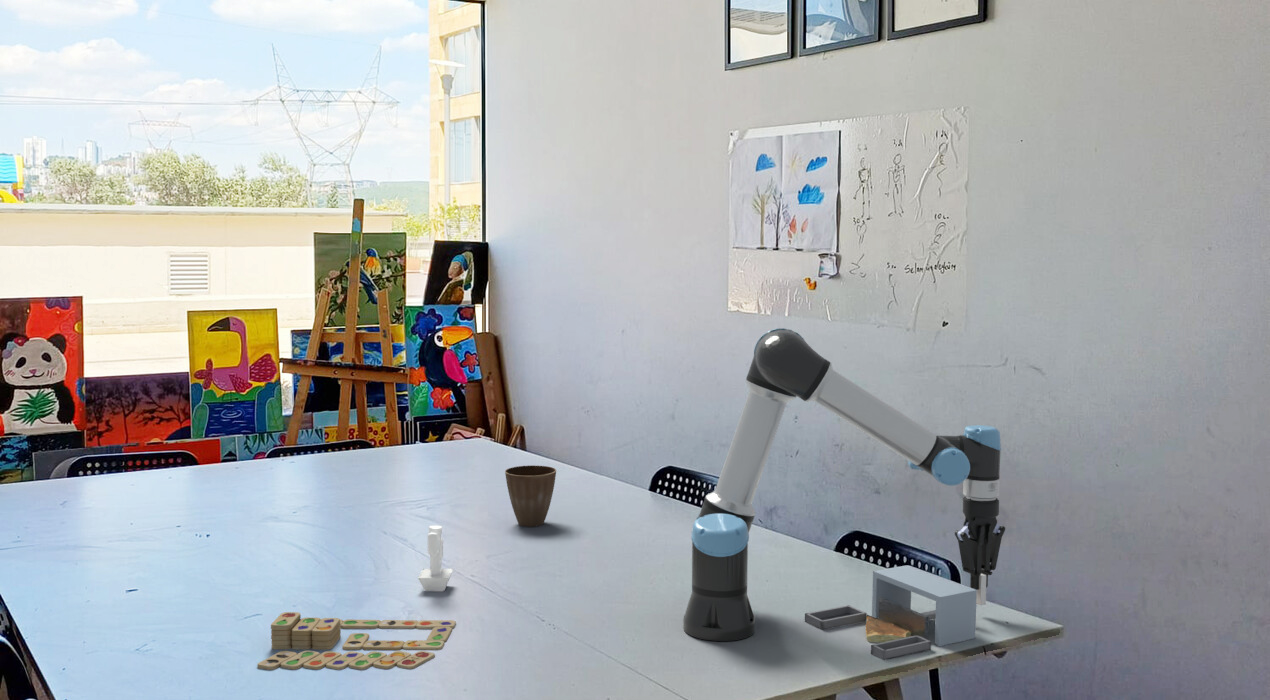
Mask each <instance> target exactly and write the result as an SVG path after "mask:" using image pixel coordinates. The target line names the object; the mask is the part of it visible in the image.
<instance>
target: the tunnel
mask: <svg viewBox="0 0 1270 700" xmlns="http://www.w3.org/2000/svg"><path fill="white" fill-rule="evenodd" d="M912 593H915V595H916V594H917V595H919V596H922V597H924V598H927V599H929V600H933V601H935V610H936V619H934V620H935V623H934V624H935V626H934V645H936V646H938V647H943V646H946V645H950V644H956V643H960V642H964V641H968V640H973V639H976V628H977V625H976V624H977V604H976V599H977V590H975V589H973V588H971V587H970V586H966V585H963V584H961V583H959V582H956V581H953V580H950V579H948V578H944V577H943V576H939V575H936V574H934V573H931V572H928V571H925V570H922V569H920V568H917V567H914V566H911V565H902V566H901V565H899V566H894V567H889V568H884V569H878V570H872V600H871V601H872V604H871V605H872V606H871V608H872V609H871V616H872V617H875V618H877V619H879V598H884V599H887V600H889V601H892V602H894V603H897V604H899V605H901V606H904V607H906V608H909V609H911V608H912V607H911V606H912ZM911 610H912V609H911Z"/></svg>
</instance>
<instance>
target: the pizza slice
mask: <svg viewBox="0 0 1270 700" xmlns="http://www.w3.org/2000/svg"><path fill="white" fill-rule="evenodd" d="M865 622H866V623H865V636H866V641H867V642H868V643H869V642H870V643H883V642H887V641H892V640H897V639H901V638H906V637H911V631H908V630H907V629H904V628H902V627H899V626H897V625H895V624H892V623H889V622H887V621H884V620H880V619H879V618H875V617H872V615H870V614H867V620H866V621H865Z"/></svg>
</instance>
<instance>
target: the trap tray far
mask: <svg viewBox="0 0 1270 700" xmlns="http://www.w3.org/2000/svg"><path fill="white" fill-rule="evenodd" d="M867 615H868V613H867V612H865V611H864V610H860V609H858V608H856V607H853V606H851V605H849V604H847V605H841V606H837V607H832V608H827V609H822V610H817V611H810V612H806V613H804V622H805V623H807V624H809V625H811V626H813V627H816V628H817V629H818V630H821V631H824V630H829V629H833V628H839V627H845V626H848V625H849V626H850V625H854V624H858V623H859V624H860V623H864V622H867Z"/></svg>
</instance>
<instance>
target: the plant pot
mask: <svg viewBox="0 0 1270 700" xmlns="http://www.w3.org/2000/svg"><path fill="white" fill-rule="evenodd" d="M504 474H505V481H506V487H507V492H508V495H509V496H508V497H509V500H510V503H511V507H512V511H513V513H514V516H515V518H516V521H517V524H518V525H519V526H520V527H524V528H525V527H527V528H534V527H535V528H536V527H540V526H543V525H544V524H545V521H546V518H547V516H548V512H549V509H550V506H551V502H552V499H553V492H554V488H555V483H556V475H557V469H556V468H555V467H551V466H547V465H535V464H534V465H519V466H512V467H508V468H506V469H505V471H504Z"/></svg>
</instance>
